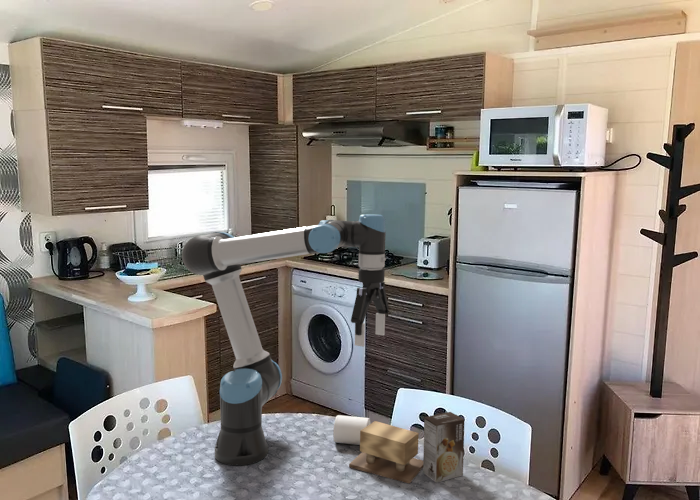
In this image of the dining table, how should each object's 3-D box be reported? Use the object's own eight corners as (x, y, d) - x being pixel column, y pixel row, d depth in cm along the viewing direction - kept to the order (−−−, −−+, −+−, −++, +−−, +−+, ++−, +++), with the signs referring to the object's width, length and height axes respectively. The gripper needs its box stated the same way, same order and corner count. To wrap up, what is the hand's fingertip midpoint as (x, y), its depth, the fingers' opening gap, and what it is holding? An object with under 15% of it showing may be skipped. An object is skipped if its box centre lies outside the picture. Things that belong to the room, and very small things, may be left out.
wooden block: (359, 451, 163) (360, 430, 162) (374, 440, 170) (375, 420, 169) (404, 465, 155) (405, 443, 155) (417, 453, 162) (418, 432, 161)
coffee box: (449, 465, 164) (451, 410, 162) (463, 476, 158) (465, 419, 156) (421, 472, 160) (423, 416, 158) (435, 483, 154) (437, 425, 152)
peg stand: (349, 467, 162) (349, 453, 161) (368, 449, 172) (368, 437, 172) (409, 483, 154) (410, 469, 153) (425, 464, 164) (426, 450, 164)
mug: (365, 450, 172) (366, 424, 171) (333, 446, 174) (333, 421, 173) (372, 433, 184) (373, 409, 183) (341, 430, 186) (341, 406, 185)
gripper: (363, 275, 155) (362, 352, 158) (400, 263, 177) (398, 332, 180) (339, 272, 159) (338, 348, 161) (378, 261, 181) (376, 328, 183)
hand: (370, 340), depth 171 cm, fingers open, 13 cm apart
